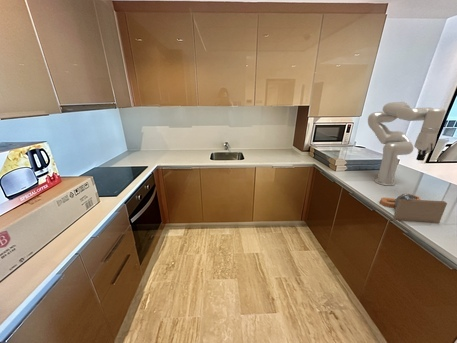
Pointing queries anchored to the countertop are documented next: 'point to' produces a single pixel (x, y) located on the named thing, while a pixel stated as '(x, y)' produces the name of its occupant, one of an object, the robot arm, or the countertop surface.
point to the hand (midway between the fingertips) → (419, 160)
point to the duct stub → (418, 209)
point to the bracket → (390, 202)
